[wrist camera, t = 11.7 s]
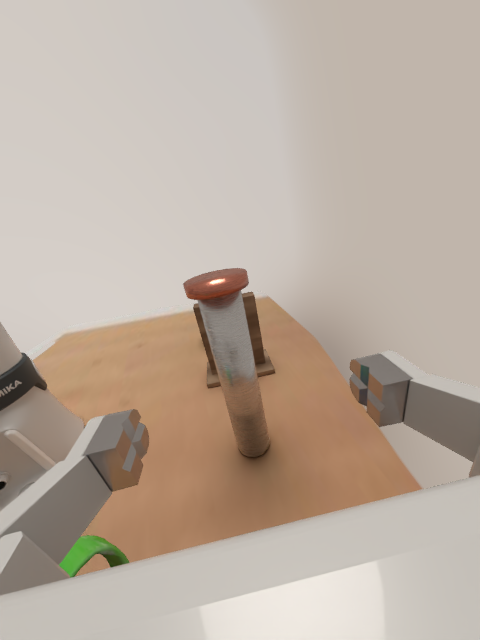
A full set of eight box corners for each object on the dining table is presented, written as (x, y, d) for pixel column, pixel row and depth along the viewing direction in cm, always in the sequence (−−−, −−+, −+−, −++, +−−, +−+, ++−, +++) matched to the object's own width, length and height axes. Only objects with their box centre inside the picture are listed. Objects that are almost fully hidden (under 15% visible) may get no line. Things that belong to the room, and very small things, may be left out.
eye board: (274, 372, 40) (263, 298, 35) (208, 388, 40) (185, 315, 34) (266, 352, 47) (255, 286, 41) (208, 365, 46) (189, 300, 41)
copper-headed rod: (281, 457, 26) (251, 277, 18) (233, 469, 26) (179, 292, 17) (257, 377, 39) (233, 253, 31) (225, 384, 39) (193, 262, 31)
